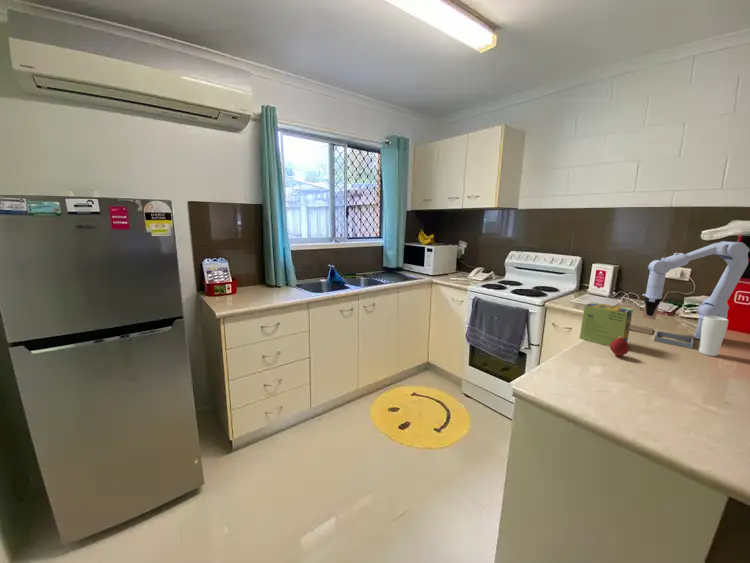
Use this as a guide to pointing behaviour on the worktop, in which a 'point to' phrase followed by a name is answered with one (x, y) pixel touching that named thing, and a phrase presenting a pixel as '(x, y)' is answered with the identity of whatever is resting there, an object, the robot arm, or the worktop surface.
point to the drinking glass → (712, 334)
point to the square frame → (673, 342)
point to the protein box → (605, 323)
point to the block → (649, 315)
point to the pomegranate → (619, 346)
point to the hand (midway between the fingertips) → (650, 314)
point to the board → (641, 329)
